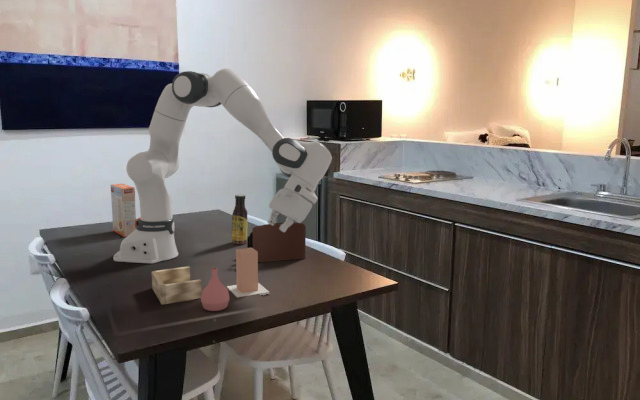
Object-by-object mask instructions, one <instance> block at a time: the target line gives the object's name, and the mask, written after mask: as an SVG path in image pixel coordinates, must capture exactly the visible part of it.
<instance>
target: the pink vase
mask: <svg viewBox="0 0 640 400" xmlns="http://www.w3.org/2000/svg"><path fill="white" fill-rule="evenodd" d="M200 301H201V305H202V308H203V309H204V310H205V311H210V312H220V311H222V310H225V309H227V308H228V305H229V302H230V293H229V289H228V288H227V287H226V286H225V285H224V284H223V283H222V282H221V280H220V278H219V276H218V268H217V267H212V268H211V278H210V279H209V282H208V284H207V285H206V286H205V287H204V288H203V290H202V294H201V298H200Z"/></svg>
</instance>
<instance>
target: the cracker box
mask: <svg viewBox="0 0 640 400" xmlns="http://www.w3.org/2000/svg"><path fill="white" fill-rule="evenodd" d="M135 190H136V187H135V186H134V187H133V186H131V185H128V184H126V183H116V184H115V183H114V184H110V197H111V198H110V199H111V200H110V201H111V215H112V216H111V217H112V231H113V232H114V233H117V234H118V235H120V236H122V237H123V238H126V237H127V236H128V235H129V234H131V233H132V232H133V231H134V230H136V226H135V224H134V223H135V222H136V221H137V213H136V212H137V210H136V191H135Z"/></svg>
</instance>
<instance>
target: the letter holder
mask: <svg viewBox="0 0 640 400" xmlns="http://www.w3.org/2000/svg"><path fill="white" fill-rule="evenodd" d="M283 223H284V222H275V224H274V225H273V226H272V225H270V224H269V223H266V224H263V225H256V226H254V227H253V228H251V231H252V232H250V234H249V235H247V242H246V243H247V246H246V248H253V249H255V250H256V251H257V252H258V262H260V263H269V262H270V261H271V262H277V261H278V262H280V261H281V260H282V261H291V260H292V259H293V260H302V259H303V258H304V259H306V257H307V256H306V255H307V254H306V247H307V246H306V245H307V244H306V238H307V237H306V233H307V229H306V228H307V227H306V224H305V223H303V222H301V223H298V222H293V224H292V225H291V226H290V227H288V228H287V230H286V232H282V231H281V230H279V227H280V226H281V224H282V225H283ZM293 260H292V261H293Z"/></svg>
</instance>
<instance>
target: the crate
mask: <svg viewBox="0 0 640 400" xmlns="http://www.w3.org/2000/svg"><path fill="white" fill-rule="evenodd" d="M150 273H151V289H152V290H153V292H154V294H155V296H156V297H157V299H158V300H159V303H160V304H161V305H168V304H174V303H181V302H186V301H192V300H198V299H201V294H202V291H203V290H202V280H201V279H200V278H199V279H194V280H191V267H190V266H181V267H174V268H166V269H160V270H153V271H151V272H150Z"/></svg>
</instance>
